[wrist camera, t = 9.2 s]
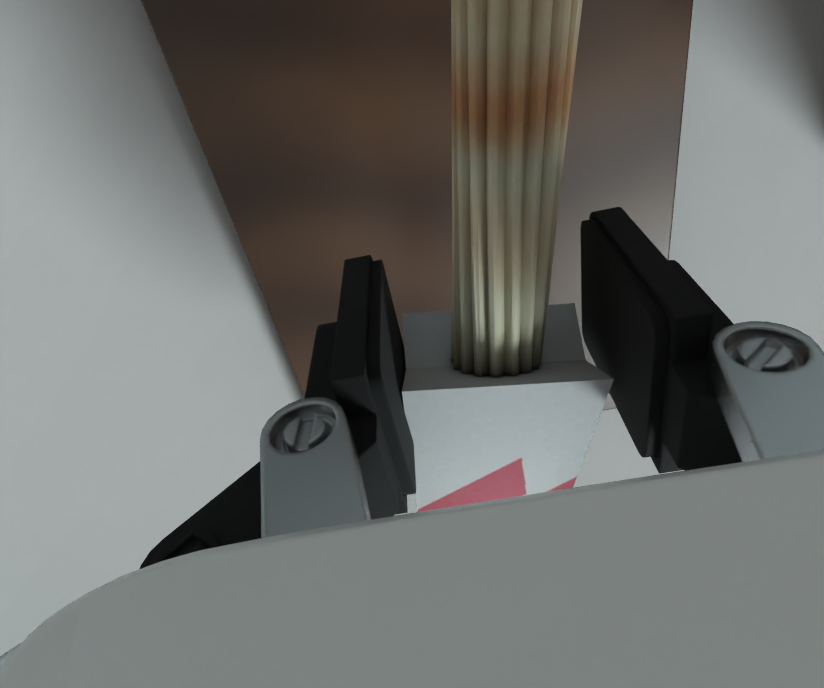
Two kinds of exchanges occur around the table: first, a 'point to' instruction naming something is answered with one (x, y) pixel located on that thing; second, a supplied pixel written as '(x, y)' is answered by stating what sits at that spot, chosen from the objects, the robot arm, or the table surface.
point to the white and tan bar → (503, 273)
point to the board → (403, 140)
